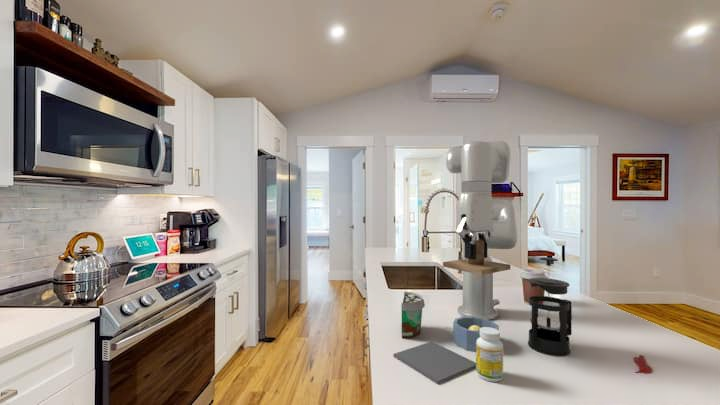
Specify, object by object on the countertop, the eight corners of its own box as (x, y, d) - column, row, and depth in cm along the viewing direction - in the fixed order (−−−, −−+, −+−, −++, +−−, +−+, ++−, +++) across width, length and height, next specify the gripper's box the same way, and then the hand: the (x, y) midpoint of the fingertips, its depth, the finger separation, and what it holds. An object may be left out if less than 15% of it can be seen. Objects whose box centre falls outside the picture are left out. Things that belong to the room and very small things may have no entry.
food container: (424, 342, 83) (424, 304, 83) (401, 340, 84) (401, 303, 85) (424, 325, 95) (424, 292, 95) (404, 323, 97) (404, 291, 97)
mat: (431, 343, 83) (431, 341, 83) (478, 366, 71) (478, 363, 71) (393, 356, 75) (393, 353, 75) (437, 384, 64) (437, 381, 64)
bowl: (471, 331, 91) (471, 314, 91) (507, 345, 82) (507, 326, 82) (445, 340, 85) (445, 321, 85) (480, 356, 76) (480, 335, 76)
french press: (546, 358, 75) (546, 261, 75) (517, 342, 84) (517, 255, 84) (585, 353, 78) (585, 260, 78) (553, 337, 87) (553, 254, 87)
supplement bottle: (498, 385, 63) (498, 337, 64) (472, 376, 67) (472, 330, 67) (506, 374, 68) (506, 329, 68) (481, 366, 71) (481, 323, 71)
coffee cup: (553, 307, 113) (553, 273, 114) (527, 307, 113) (527, 273, 114) (539, 299, 122) (539, 268, 123) (515, 299, 123) (515, 268, 123)
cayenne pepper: (645, 379, 67) (645, 370, 67) (619, 369, 71) (619, 361, 71) (665, 364, 73) (665, 356, 73) (639, 356, 77) (639, 348, 77)
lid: (471, 262, 92) (471, 237, 92) (510, 269, 82) (510, 241, 82) (442, 266, 85) (443, 239, 85) (481, 275, 75) (481, 244, 75)
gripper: (483, 190, 91) (483, 253, 91) (443, 188, 82) (443, 258, 82) (507, 189, 85) (507, 257, 85) (467, 187, 76) (467, 263, 76)
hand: (475, 257), depth 84 cm, fingers closed on lid, 4 cm apart
